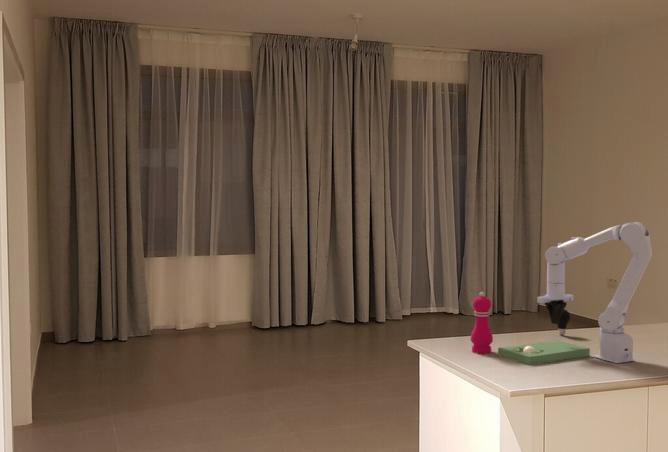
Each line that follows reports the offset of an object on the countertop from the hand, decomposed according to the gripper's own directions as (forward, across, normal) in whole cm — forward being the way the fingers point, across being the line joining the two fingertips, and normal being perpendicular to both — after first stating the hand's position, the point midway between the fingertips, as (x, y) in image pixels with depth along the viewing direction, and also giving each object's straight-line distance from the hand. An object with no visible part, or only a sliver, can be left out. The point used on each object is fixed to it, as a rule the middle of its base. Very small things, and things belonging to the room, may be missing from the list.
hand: (555, 323), depth 222 cm
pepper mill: (+10, +22, -11) cm, 26 cm away
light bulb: (+10, -22, -18) cm, 30 cm away
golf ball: (+7, +15, +4) cm, 17 cm away
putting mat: (+9, +8, +3) cm, 13 cm away
